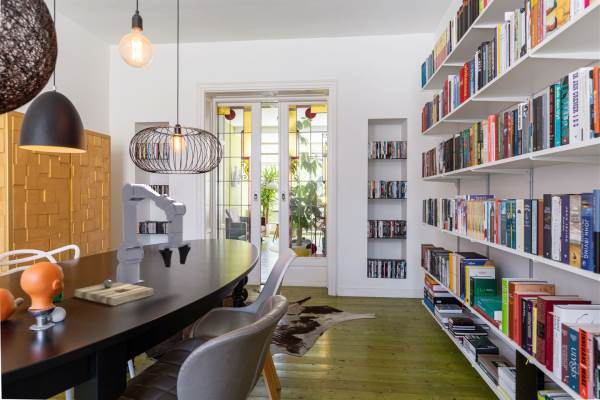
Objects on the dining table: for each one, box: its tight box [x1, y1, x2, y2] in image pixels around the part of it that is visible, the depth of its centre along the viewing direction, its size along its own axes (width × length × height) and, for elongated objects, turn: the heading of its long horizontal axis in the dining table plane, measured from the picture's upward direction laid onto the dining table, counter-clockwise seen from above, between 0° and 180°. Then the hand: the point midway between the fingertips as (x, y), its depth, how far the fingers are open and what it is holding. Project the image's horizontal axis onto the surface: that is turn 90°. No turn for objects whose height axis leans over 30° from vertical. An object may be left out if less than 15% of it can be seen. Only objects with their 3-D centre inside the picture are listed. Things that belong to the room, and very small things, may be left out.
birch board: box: [74, 280, 154, 306], centre depth 135 cm, size 24×16×2 cm, turn 61°
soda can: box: [53, 266, 64, 303], centre depth 128 cm, size 5×5×12 cm
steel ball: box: [102, 279, 113, 288], centre depth 137 cm, size 3×3×3 cm
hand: (175, 265), depth 144 cm, fingers open, 7 cm apart
